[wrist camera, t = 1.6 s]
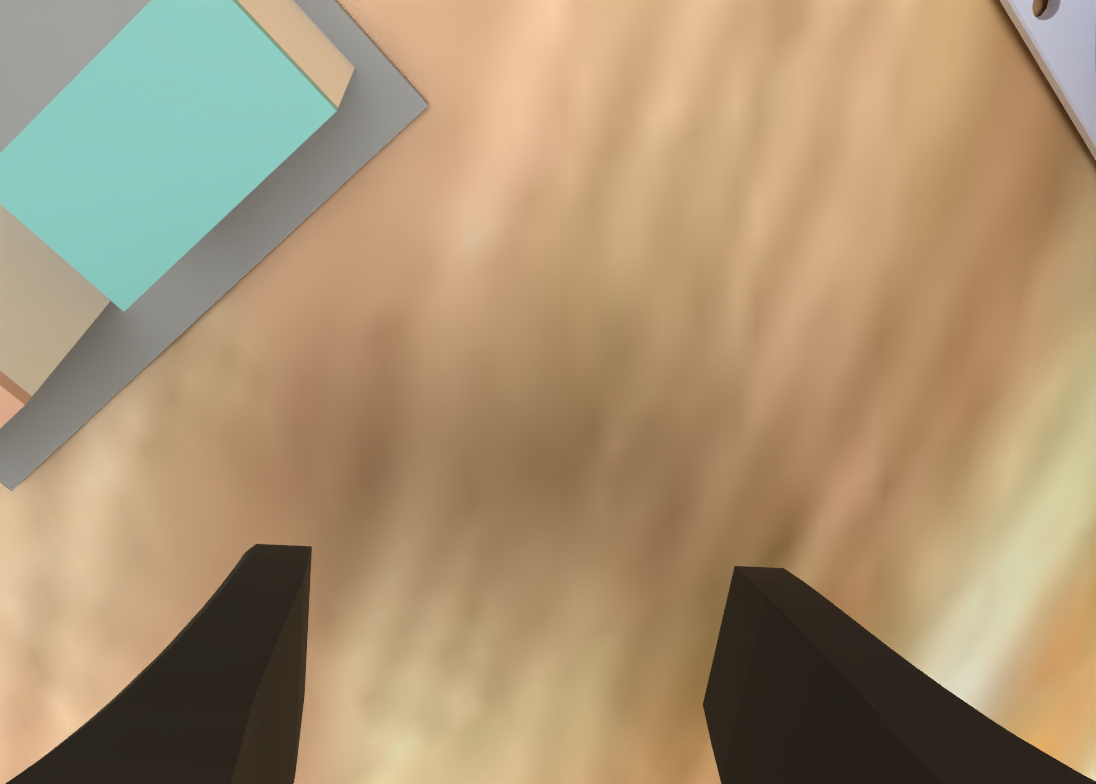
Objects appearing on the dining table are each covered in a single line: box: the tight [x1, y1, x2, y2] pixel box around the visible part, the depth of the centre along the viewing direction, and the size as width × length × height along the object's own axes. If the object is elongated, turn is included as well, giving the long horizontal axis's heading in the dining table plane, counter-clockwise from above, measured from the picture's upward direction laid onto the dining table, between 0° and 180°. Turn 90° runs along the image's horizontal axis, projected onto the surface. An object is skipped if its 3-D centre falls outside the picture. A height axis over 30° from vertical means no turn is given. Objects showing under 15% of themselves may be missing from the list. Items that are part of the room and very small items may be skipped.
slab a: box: [0, 0, 355, 312], centre depth 16 cm, size 2×4×5 cm, turn 131°
